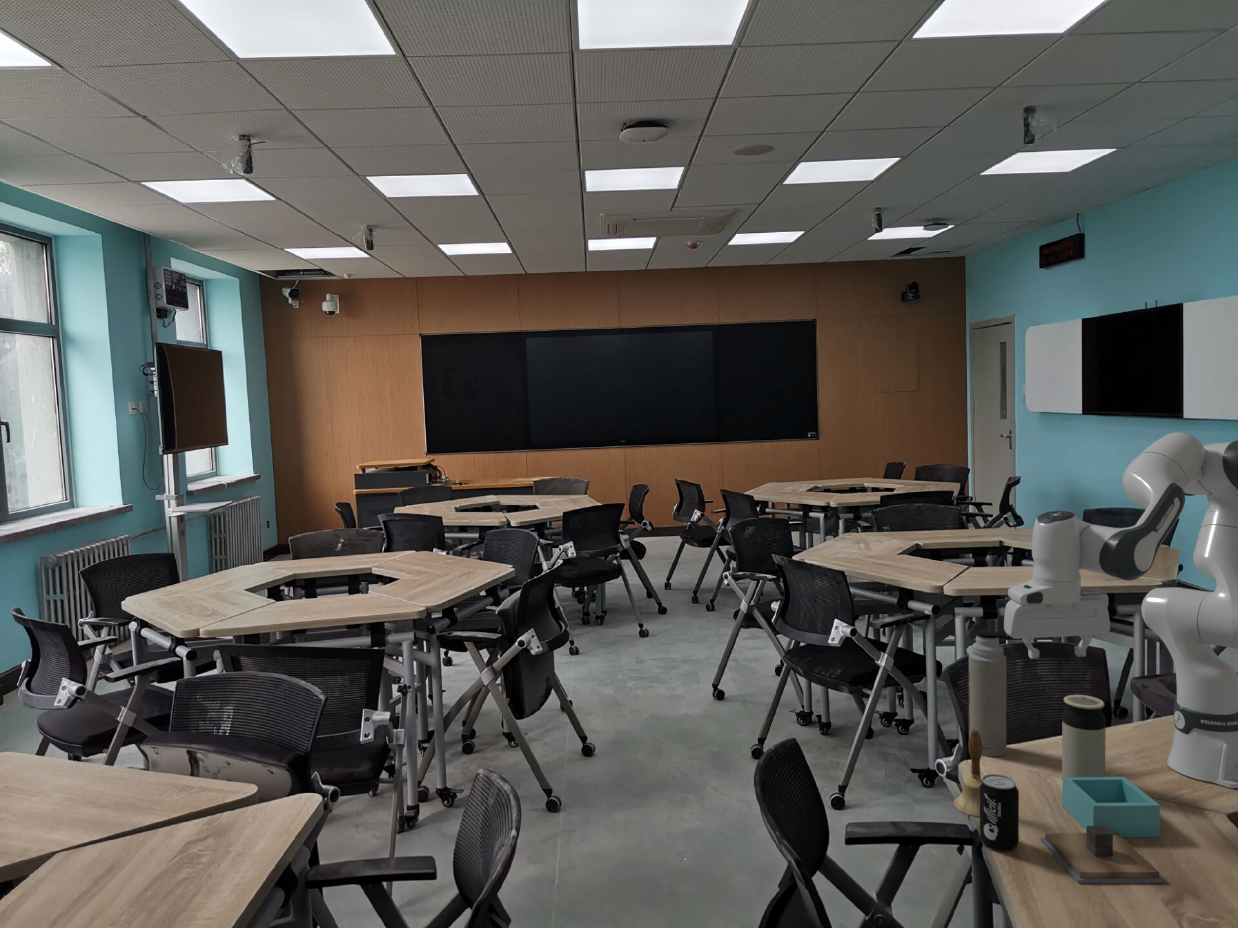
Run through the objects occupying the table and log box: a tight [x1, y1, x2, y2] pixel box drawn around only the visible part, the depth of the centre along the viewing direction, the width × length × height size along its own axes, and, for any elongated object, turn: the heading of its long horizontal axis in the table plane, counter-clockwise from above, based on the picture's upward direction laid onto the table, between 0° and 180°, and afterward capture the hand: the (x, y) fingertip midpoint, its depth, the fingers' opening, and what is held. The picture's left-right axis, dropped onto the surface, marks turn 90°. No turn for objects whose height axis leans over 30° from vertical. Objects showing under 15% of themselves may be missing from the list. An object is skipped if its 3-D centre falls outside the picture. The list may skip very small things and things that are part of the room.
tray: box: [1040, 836, 1164, 884], centre depth 150 cm, size 14×14×1 cm
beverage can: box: [979, 773, 1020, 852], centre depth 156 cm, size 7×7×12 cm
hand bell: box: [953, 730, 983, 818], centre depth 170 cm, size 8×8×16 cm
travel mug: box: [1061, 694, 1107, 781], centre depth 178 cm, size 8×8×18 cm
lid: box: [1044, 826, 1160, 878], centre depth 149 cm, size 13×13×5 cm
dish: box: [1061, 776, 1161, 838], centre depth 163 cm, size 12×12×6 cm
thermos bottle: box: [968, 629, 1007, 758], centre depth 196 cm, size 8×8×28 cm
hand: (1056, 656), depth 174 cm, fingers open, 8 cm apart
